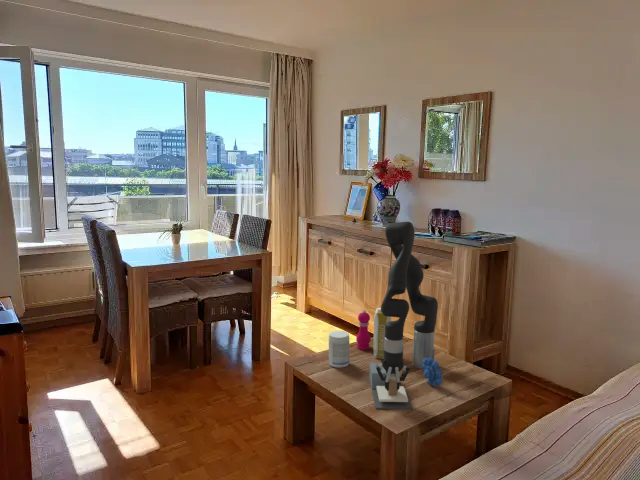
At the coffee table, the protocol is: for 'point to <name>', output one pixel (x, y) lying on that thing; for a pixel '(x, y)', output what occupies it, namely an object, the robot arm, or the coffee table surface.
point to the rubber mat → (391, 403)
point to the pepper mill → (363, 331)
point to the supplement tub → (338, 349)
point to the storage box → (377, 376)
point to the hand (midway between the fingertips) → (391, 389)
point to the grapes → (432, 371)
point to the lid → (392, 392)
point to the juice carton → (379, 333)
